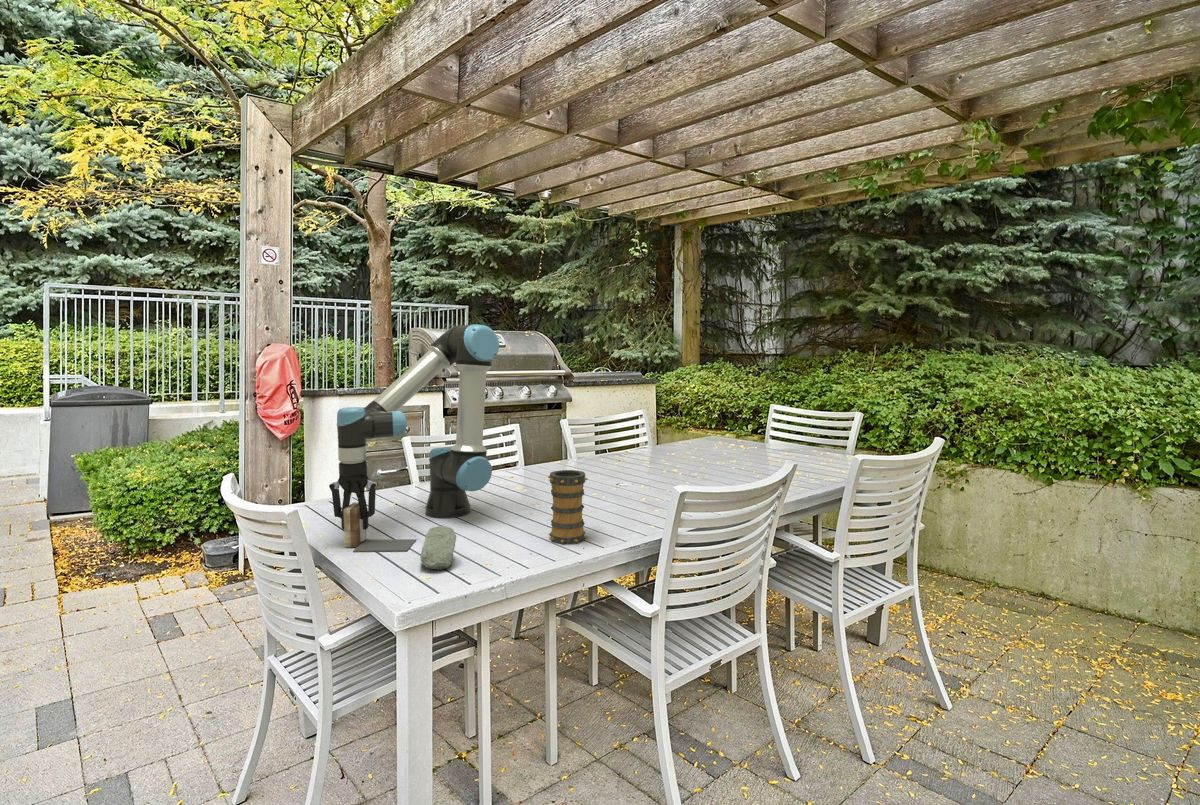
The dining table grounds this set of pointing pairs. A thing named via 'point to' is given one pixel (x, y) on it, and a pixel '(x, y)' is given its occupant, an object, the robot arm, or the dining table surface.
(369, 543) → the mat
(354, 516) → the slab
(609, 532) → the dining table surface
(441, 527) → the decorative stone
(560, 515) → the mug
